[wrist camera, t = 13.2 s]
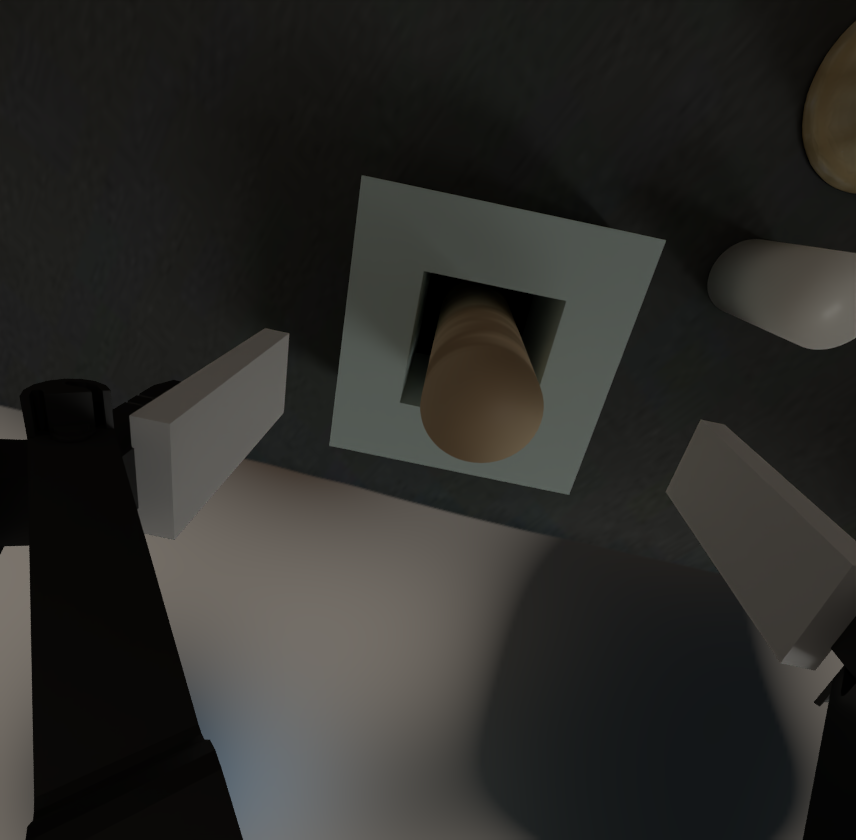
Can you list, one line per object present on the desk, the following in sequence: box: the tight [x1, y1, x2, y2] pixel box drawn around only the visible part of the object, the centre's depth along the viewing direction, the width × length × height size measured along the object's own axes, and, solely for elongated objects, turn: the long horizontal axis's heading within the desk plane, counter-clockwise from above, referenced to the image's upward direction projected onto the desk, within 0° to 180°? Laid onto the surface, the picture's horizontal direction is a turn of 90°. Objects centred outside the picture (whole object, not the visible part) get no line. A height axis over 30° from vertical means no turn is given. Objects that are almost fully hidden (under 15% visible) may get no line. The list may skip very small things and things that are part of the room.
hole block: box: [329, 175, 666, 495], centre depth 25 cm, size 12×12×8 cm
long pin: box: [420, 280, 544, 463], centre depth 22 cm, size 4×4×14 cm
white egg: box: [707, 239, 856, 350], centre depth 23 cm, size 4×4×7 cm
